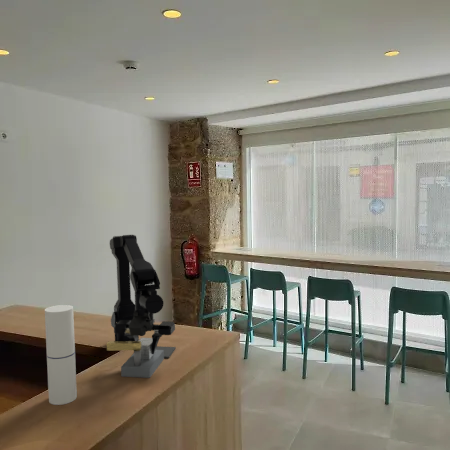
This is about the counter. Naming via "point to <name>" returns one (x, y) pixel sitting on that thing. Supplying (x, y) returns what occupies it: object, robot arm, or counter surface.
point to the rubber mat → (166, 350)
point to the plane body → (141, 365)
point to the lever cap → (146, 348)
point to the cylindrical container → (60, 354)
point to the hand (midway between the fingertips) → (145, 353)
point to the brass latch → (124, 345)
